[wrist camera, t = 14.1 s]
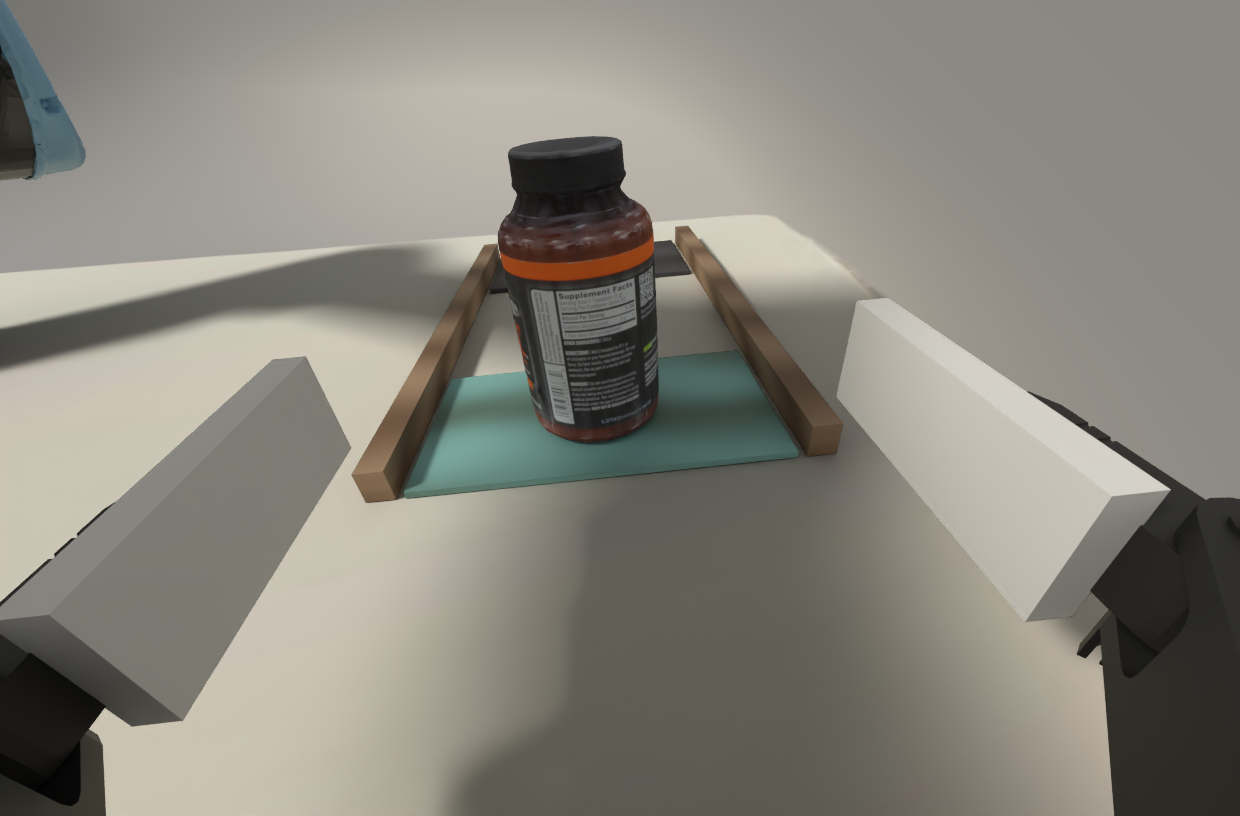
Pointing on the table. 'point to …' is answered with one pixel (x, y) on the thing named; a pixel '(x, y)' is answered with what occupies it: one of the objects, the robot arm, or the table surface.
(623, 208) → the supplement bottle
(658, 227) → the table surface
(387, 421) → the channel track
